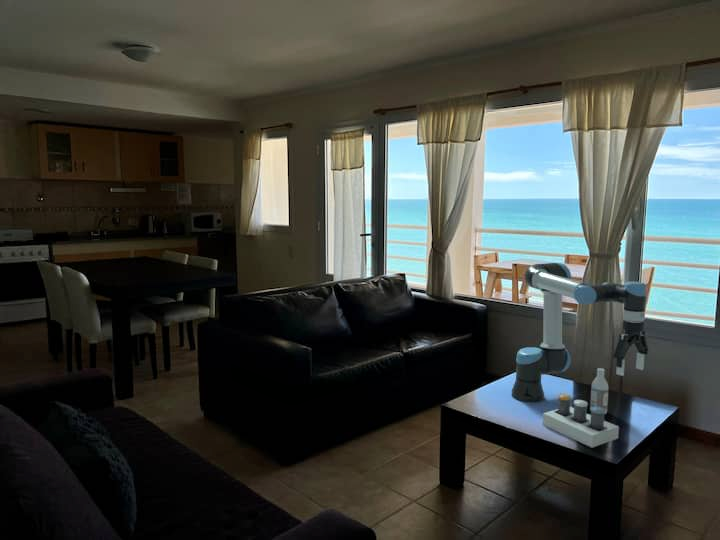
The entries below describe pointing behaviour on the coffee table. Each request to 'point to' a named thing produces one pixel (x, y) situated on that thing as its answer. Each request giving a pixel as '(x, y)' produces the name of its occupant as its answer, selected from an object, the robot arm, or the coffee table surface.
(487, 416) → the coffee table surface
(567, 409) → the knob
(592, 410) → the knob
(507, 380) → the coffee table surface
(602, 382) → the bath foam
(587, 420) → the mount
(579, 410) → the knob
